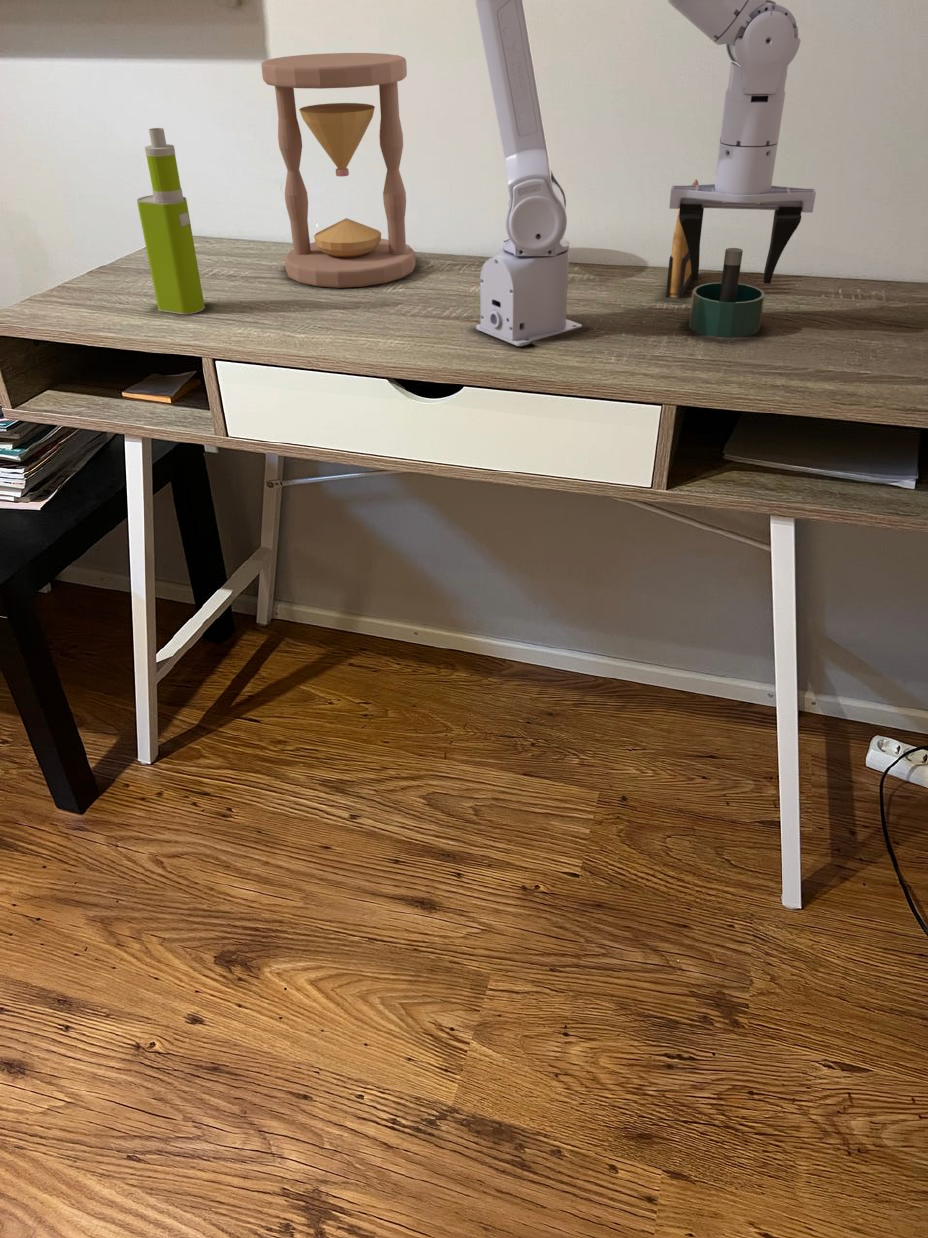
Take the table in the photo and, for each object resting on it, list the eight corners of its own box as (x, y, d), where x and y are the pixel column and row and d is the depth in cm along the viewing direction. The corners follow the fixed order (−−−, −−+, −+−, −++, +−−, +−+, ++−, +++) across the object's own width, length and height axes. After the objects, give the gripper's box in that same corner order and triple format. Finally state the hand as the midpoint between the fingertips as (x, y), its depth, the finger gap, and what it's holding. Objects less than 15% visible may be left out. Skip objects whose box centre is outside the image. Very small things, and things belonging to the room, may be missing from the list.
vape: (191, 315, 118) (159, 132, 106) (153, 309, 120) (116, 129, 108) (211, 306, 120) (181, 127, 109) (172, 301, 122) (139, 124, 111)
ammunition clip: (680, 301, 118) (691, 196, 111) (664, 300, 119) (675, 195, 112) (693, 277, 126) (705, 178, 120) (679, 276, 127) (689, 177, 120)
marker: (724, 329, 108) (735, 252, 103) (712, 325, 109) (722, 249, 105) (735, 325, 109) (746, 249, 104) (723, 321, 110) (733, 246, 106)
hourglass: (263, 283, 128) (234, 65, 114) (318, 249, 142) (298, 51, 128) (389, 292, 124) (375, 67, 109) (432, 256, 137) (425, 52, 123)
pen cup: (745, 346, 105) (750, 306, 103) (677, 334, 109) (681, 296, 106) (768, 325, 110) (774, 288, 108) (703, 315, 114) (707, 278, 111)
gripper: (820, 136, 100) (797, 271, 108) (677, 134, 103) (665, 266, 111) (825, 148, 95) (801, 290, 102) (674, 146, 97) (661, 284, 105)
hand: (730, 279), depth 106 cm, fingers open, 7 cm apart
